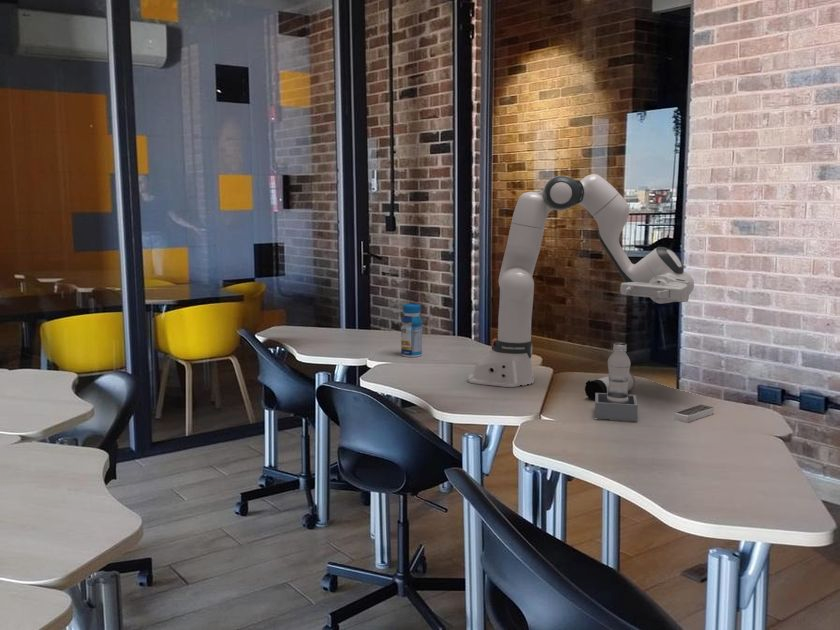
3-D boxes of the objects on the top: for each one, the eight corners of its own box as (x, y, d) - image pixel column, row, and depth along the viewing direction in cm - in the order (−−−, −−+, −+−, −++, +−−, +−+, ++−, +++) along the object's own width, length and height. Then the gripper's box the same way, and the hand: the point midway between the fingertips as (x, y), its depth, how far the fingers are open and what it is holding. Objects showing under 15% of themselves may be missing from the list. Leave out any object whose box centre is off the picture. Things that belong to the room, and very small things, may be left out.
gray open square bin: (594, 419, 228) (595, 402, 227) (594, 408, 239) (595, 392, 238) (636, 421, 225) (637, 405, 225) (634, 411, 237) (635, 395, 236)
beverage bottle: (422, 357, 309) (422, 306, 305) (400, 357, 309) (400, 306, 306) (422, 353, 317) (422, 303, 314) (401, 353, 317) (401, 303, 314)
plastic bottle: (615, 416, 228) (618, 347, 225) (600, 410, 234) (603, 342, 231) (633, 413, 231) (636, 345, 228) (618, 407, 237) (621, 341, 234)
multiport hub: (673, 420, 229) (673, 412, 228) (700, 411, 238) (700, 404, 238) (687, 424, 225) (688, 416, 225) (714, 415, 235) (714, 407, 234)
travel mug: (628, 366, 260) (593, 376, 246) (639, 384, 258) (604, 395, 244) (614, 376, 264) (579, 386, 250) (625, 393, 262) (590, 404, 248)
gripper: (632, 276, 257) (611, 279, 247) (694, 281, 243) (674, 285, 233) (631, 295, 258) (610, 300, 248) (693, 302, 244) (673, 306, 234)
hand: (641, 293), depth 240 cm, fingers open, 8 cm apart
